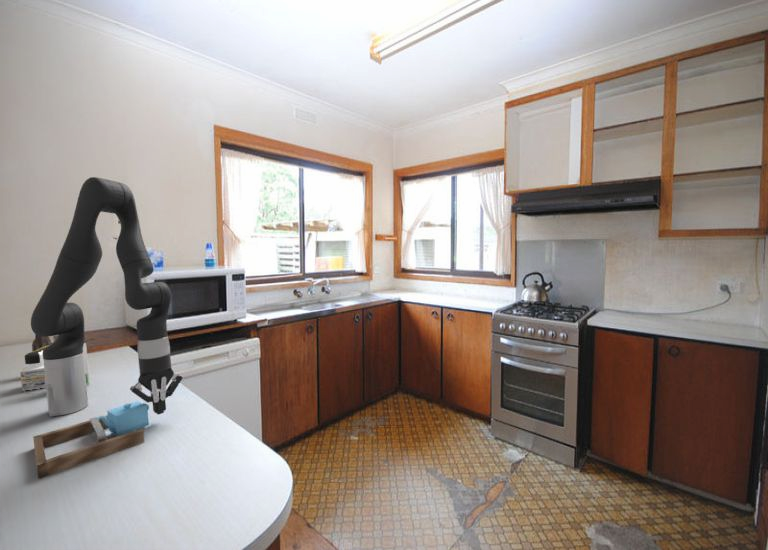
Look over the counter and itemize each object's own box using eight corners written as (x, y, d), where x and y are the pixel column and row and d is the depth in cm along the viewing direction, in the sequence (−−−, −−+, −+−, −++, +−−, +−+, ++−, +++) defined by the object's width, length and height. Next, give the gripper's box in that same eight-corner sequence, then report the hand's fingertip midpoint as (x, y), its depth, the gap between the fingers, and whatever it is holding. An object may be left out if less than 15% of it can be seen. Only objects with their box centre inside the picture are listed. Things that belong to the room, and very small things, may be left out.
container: (21, 392, 127) (17, 356, 126) (30, 384, 134) (27, 351, 133) (50, 387, 131) (46, 352, 130) (57, 380, 137) (54, 347, 136)
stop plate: (99, 451, 87) (97, 435, 86) (90, 433, 96) (89, 418, 95) (107, 448, 88) (105, 433, 87) (98, 431, 97) (96, 416, 96)
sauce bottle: (41, 377, 142) (36, 328, 140) (29, 376, 143) (24, 327, 141) (59, 371, 148) (54, 324, 146) (47, 371, 149) (42, 324, 148)
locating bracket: (38, 478, 77) (36, 465, 77) (34, 448, 90) (33, 436, 89) (144, 441, 91) (143, 430, 91) (128, 419, 104) (127, 409, 103)
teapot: (102, 446, 89) (100, 417, 89) (94, 439, 93) (91, 411, 92) (155, 426, 99) (152, 399, 99) (145, 420, 103) (143, 395, 102)
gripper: (176, 346, 107) (180, 401, 109) (122, 357, 98) (128, 417, 99) (184, 350, 102) (189, 408, 104) (129, 362, 93) (135, 426, 94)
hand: (159, 413), depth 101 cm, fingers closed
